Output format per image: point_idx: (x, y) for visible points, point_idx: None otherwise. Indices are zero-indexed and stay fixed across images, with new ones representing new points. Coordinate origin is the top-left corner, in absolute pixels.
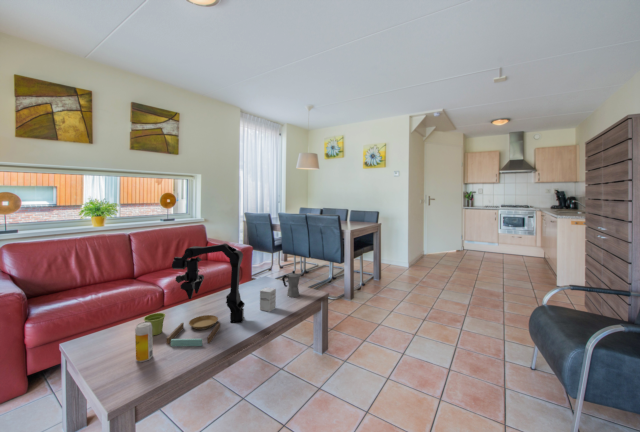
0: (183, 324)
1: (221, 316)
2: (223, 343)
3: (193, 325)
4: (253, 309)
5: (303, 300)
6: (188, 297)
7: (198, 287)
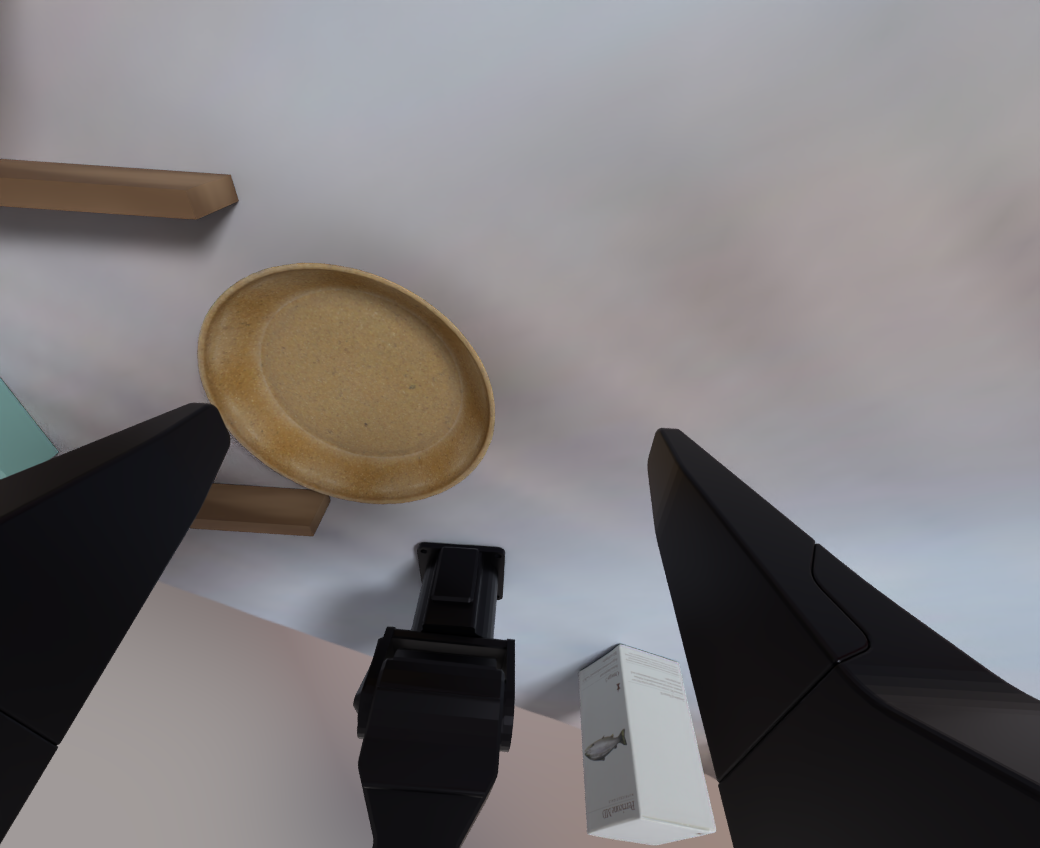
0: (209, 212)
1: (545, 477)
2: None
3: (323, 296)
4: (641, 620)
5: (702, 750)
6: (140, 427)
7: (694, 643)
